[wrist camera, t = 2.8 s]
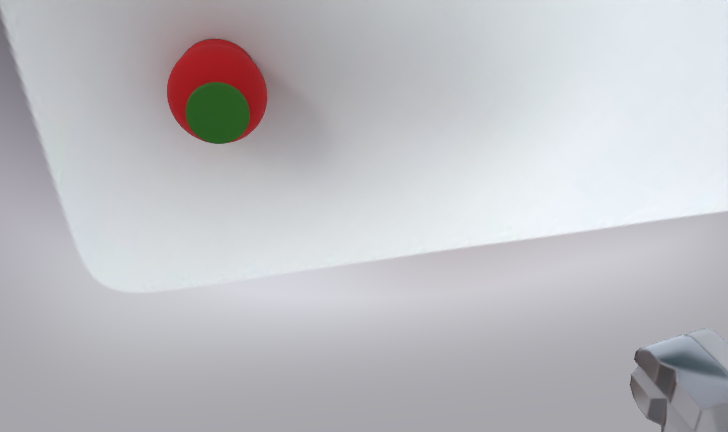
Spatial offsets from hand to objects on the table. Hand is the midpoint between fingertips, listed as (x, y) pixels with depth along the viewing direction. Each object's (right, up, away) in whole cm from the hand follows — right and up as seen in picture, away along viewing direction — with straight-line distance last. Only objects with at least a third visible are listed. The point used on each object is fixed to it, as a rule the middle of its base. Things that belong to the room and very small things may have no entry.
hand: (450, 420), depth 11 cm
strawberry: (-9, +11, +16) cm, 21 cm away
